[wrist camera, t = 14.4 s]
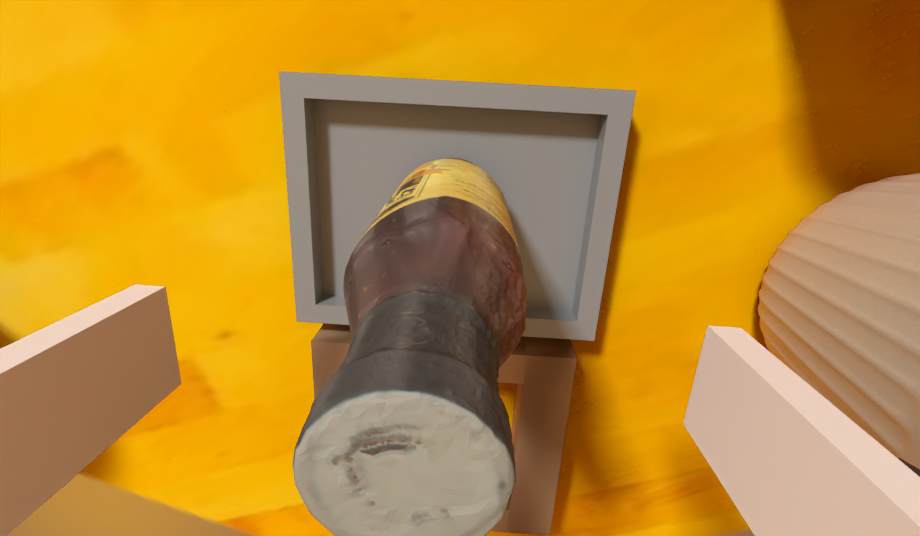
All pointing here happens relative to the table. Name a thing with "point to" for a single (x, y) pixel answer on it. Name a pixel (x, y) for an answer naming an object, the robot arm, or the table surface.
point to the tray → (473, 139)
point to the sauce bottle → (421, 367)
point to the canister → (854, 308)
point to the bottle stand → (534, 419)
